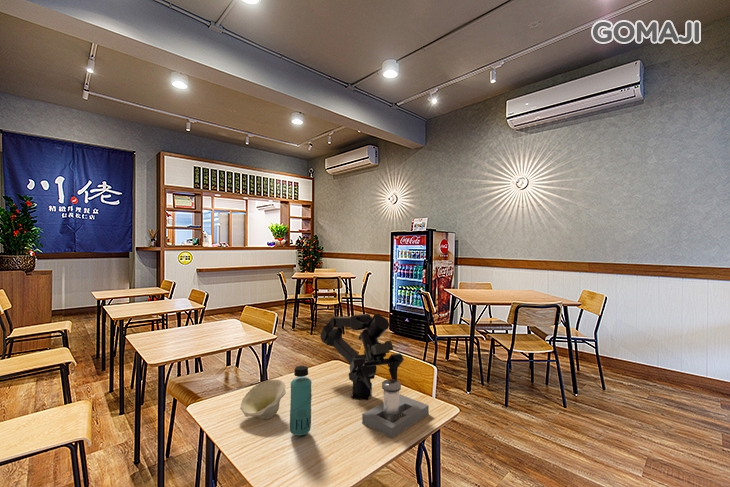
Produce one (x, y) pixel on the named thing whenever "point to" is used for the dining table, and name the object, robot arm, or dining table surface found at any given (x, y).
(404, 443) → the dining table surface
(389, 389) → the salt shaker
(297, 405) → the beverage bottle
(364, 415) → the keyhole plate
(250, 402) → the bowl
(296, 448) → the dining table surface
